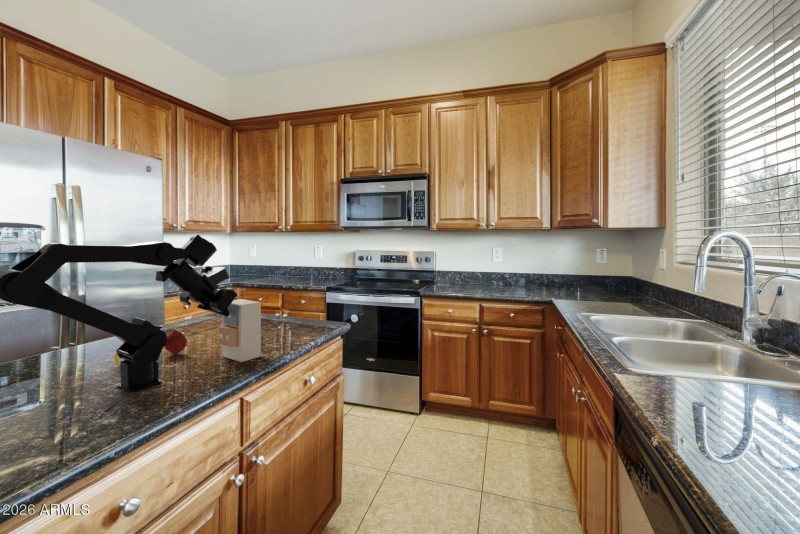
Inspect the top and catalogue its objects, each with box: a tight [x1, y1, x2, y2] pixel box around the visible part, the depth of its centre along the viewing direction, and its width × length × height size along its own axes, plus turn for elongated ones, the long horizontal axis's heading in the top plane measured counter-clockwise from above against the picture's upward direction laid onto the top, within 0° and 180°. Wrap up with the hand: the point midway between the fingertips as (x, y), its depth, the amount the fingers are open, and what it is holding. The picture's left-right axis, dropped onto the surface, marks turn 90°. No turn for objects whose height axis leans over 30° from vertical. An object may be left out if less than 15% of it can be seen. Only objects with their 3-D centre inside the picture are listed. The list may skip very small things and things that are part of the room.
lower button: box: [218, 325, 239, 347], centre depth 104 cm, size 3×6×5 cm, turn 59°
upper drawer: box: [224, 305, 238, 325], centre depth 105 cm, size 3×6×5 cm, turn 59°
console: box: [221, 298, 262, 363], centre depth 108 cm, size 6×9×16 cm
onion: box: [164, 327, 188, 356], centre depth 108 cm, size 6×6×8 cm
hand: (228, 315), depth 104 cm, fingers closed, pressing on upper drawer
